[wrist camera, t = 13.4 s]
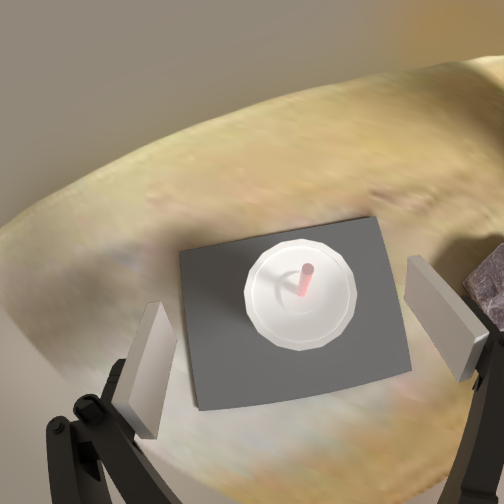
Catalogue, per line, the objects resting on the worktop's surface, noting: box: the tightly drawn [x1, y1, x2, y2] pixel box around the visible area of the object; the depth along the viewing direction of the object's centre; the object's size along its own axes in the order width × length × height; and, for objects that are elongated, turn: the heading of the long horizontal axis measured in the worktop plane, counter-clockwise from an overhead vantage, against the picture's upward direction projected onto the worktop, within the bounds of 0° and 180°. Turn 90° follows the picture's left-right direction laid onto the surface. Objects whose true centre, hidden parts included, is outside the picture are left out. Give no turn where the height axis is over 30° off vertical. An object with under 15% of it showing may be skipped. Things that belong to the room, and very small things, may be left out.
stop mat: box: [179, 216, 412, 411], centre depth 25 cm, size 18×14×1 cm
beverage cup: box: [244, 239, 357, 351], centre depth 18 cm, size 6×6×14 cm
